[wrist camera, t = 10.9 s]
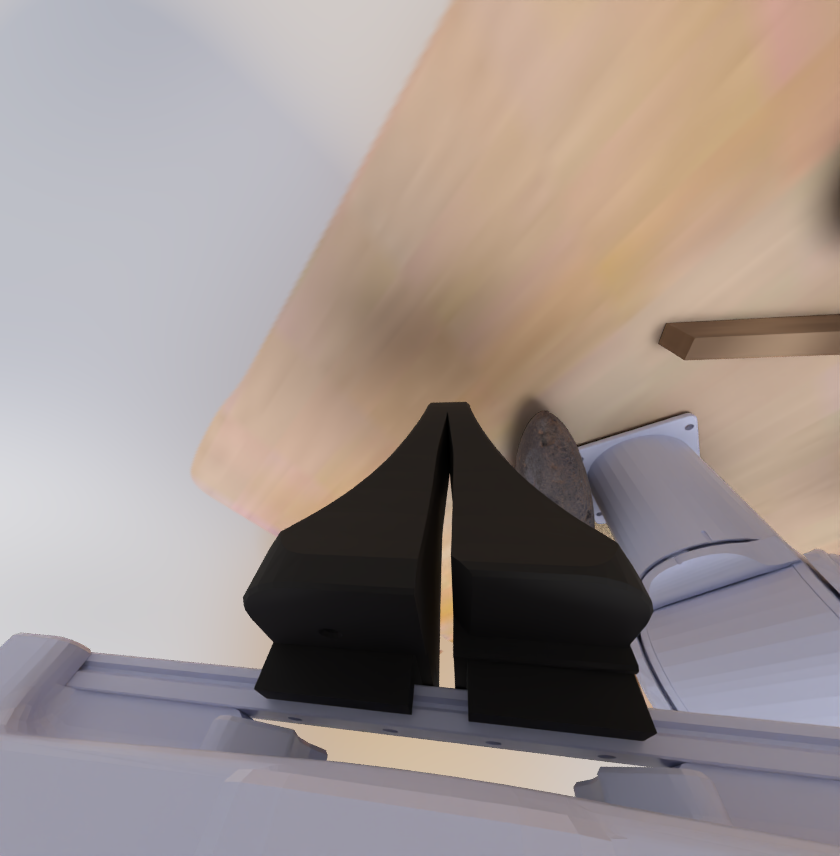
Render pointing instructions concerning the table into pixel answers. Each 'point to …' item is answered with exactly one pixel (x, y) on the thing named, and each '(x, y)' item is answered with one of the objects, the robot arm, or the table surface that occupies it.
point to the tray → (754, 337)
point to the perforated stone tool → (555, 466)
